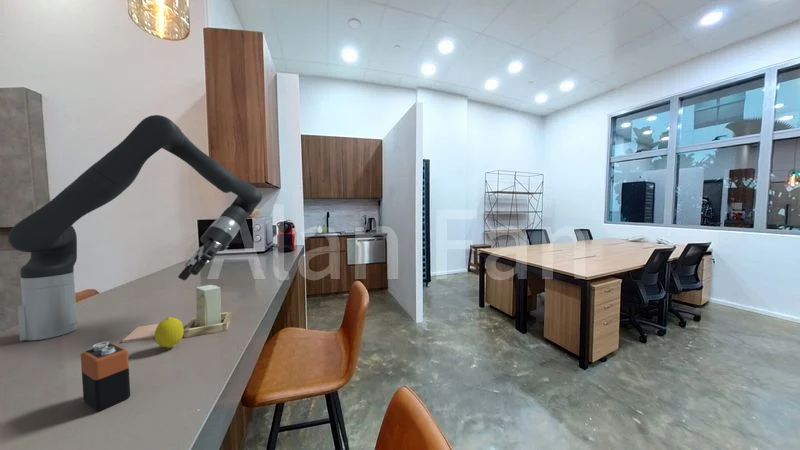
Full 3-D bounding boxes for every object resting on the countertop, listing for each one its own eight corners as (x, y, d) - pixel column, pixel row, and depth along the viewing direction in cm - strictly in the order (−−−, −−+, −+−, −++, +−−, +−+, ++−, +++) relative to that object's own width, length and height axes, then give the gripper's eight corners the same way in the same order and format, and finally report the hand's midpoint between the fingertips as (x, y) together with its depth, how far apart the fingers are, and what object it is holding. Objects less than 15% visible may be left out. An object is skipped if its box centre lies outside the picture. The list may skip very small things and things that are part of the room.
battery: (116, 387, 52) (113, 337, 52) (131, 397, 49) (128, 344, 49) (82, 401, 48) (79, 347, 48) (97, 413, 45) (93, 355, 45)
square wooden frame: (183, 337, 73) (183, 330, 73) (193, 323, 83) (192, 317, 83) (227, 330, 78) (226, 323, 78) (231, 317, 88) (230, 311, 88)
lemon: (167, 354, 64) (166, 322, 64) (149, 352, 66) (148, 320, 65) (190, 343, 70) (188, 313, 70) (172, 342, 71) (171, 312, 71)
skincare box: (196, 327, 80) (194, 287, 80) (213, 322, 84) (211, 284, 84) (205, 332, 77) (203, 290, 76) (222, 326, 81) (220, 286, 80)
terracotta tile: (122, 342, 71) (121, 340, 71) (137, 328, 80) (137, 326, 80) (170, 334, 76) (170, 332, 76) (180, 322, 84) (179, 320, 84)
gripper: (201, 232, 89) (164, 274, 78) (219, 219, 81) (182, 264, 71) (222, 245, 93) (190, 286, 82) (242, 234, 85) (209, 278, 75)
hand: (186, 276), depth 77 cm, fingers open, 8 cm apart
